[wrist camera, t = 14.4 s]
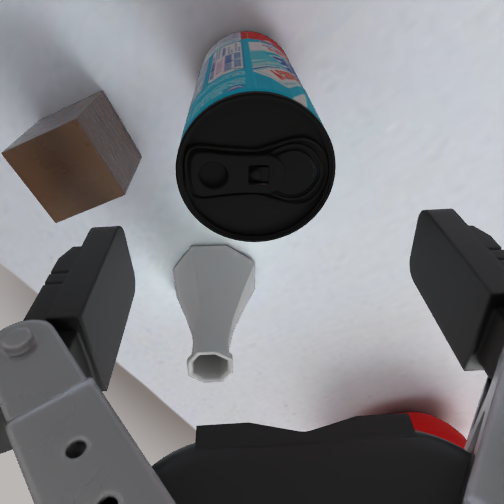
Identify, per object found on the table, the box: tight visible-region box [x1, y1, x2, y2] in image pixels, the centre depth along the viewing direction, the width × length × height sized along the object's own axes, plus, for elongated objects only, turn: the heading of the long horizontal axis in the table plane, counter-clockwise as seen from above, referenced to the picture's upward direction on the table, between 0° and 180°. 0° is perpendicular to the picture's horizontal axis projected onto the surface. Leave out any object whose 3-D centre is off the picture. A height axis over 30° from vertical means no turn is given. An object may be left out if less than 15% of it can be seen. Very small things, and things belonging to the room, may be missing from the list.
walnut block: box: [2, 91, 142, 223], centre depth 28 cm, size 5×5×6 cm
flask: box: [173, 246, 255, 383], centre depth 33 cm, size 7×7×10 cm
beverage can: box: [176, 31, 335, 242], centre depth 22 cm, size 6×6×15 cm
